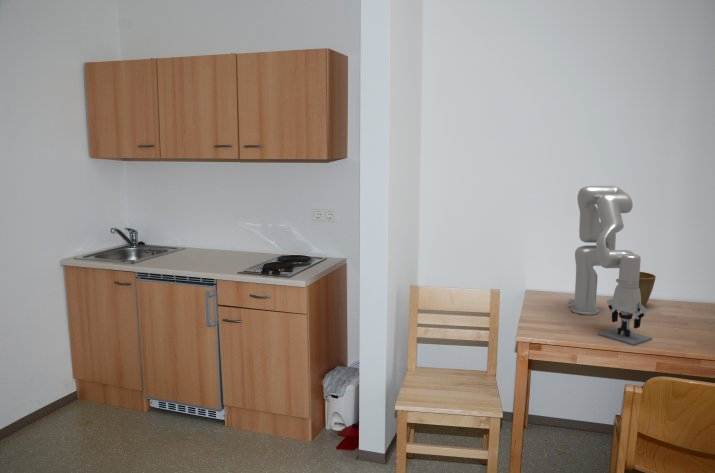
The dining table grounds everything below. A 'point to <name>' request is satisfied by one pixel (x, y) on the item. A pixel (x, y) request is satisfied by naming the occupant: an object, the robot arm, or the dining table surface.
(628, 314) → the black mechanical part
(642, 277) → the plant pot
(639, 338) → the mat
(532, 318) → the dining table surface
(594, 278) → the robot arm
